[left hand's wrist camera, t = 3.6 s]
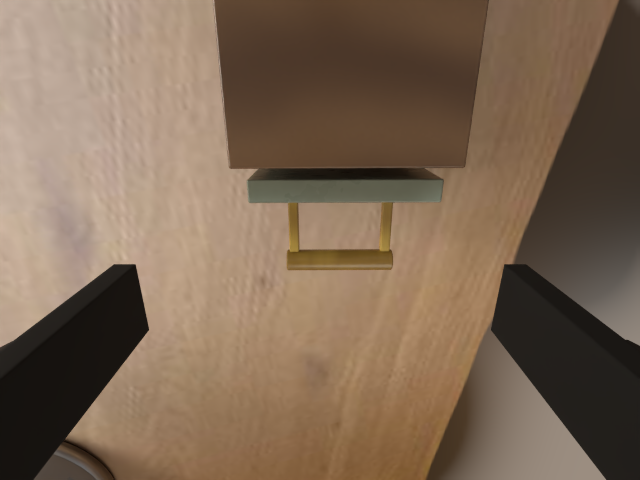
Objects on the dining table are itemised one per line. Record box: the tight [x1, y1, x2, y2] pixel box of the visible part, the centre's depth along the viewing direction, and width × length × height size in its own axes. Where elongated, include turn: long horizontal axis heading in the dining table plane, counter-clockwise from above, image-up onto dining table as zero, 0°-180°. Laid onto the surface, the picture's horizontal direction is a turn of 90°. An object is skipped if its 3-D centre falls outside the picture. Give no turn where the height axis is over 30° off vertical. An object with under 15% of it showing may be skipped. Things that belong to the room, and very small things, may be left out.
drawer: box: [247, 168, 444, 270], centre depth 19 cm, size 24×10×8 cm, turn 0°
